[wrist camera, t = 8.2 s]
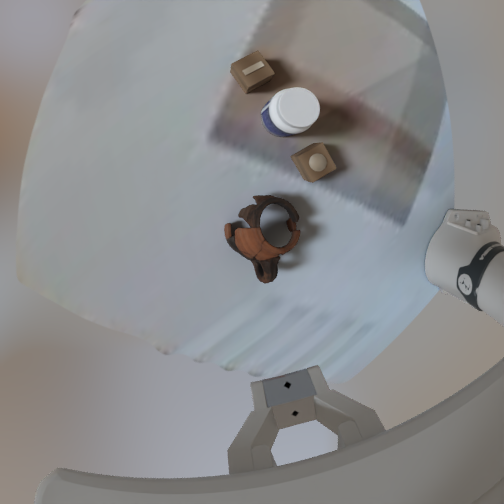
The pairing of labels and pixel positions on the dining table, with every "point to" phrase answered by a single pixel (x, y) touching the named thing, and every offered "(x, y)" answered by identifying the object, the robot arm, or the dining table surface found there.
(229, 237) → the pottery mug
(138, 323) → the dining table surface
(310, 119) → the pill bottle
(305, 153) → the walnut block dot
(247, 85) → the walnut block bar
